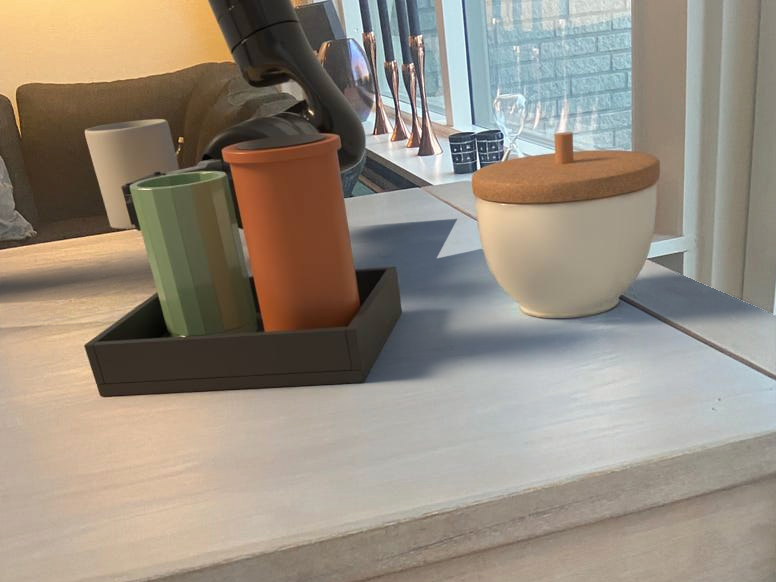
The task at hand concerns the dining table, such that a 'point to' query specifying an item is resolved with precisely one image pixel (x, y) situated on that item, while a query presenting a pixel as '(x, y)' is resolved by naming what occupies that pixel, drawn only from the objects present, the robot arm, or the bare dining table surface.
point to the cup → (195, 253)
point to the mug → (128, 159)
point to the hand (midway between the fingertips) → (196, 210)
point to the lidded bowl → (567, 226)
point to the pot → (296, 230)
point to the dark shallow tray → (244, 348)
